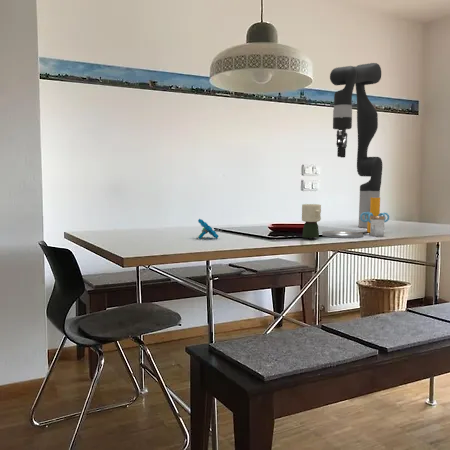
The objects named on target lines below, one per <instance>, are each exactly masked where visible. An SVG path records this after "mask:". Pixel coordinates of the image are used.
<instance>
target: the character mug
mask: <svg viewBox="0 0 450 450" xmlns="http://www.w3.org/2000/svg"><path fill="white" fill-rule="evenodd" d="M321 212H322V204H316V203H313V204H312V203H305V204H304V203H303V204H301V221H302V222H305V223H304V224H303V229H302V236H301V237H302V238H305V239H310V238H311V239H312V240H314V239H315V238H317V239H318V238H320V233H319V232H320V231H319V225H318V222H320V221H321V220H322V217H321V214H322V213H321Z"/></svg>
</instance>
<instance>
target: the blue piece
mask: <svg viewBox="0 0 450 450" xmlns="http://www.w3.org/2000/svg"><path fill="white" fill-rule="evenodd" d="M197 222H198V223H199V224H200V226H201V227H202V230H201V233H200V234H199V235H198V236H197V237H198V239H199V240H201V239H202V238H203V237H204V236H205V235H206V234H208V233H209V235H210V236H212V237H213V238H216V239H218V238H219V235H218V233H217V232H216V231H215V230H213V227H212V226H210V225H209V224H208V222H206V221H204V220H203V219H201V218H199V219H198V220H197Z"/></svg>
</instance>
